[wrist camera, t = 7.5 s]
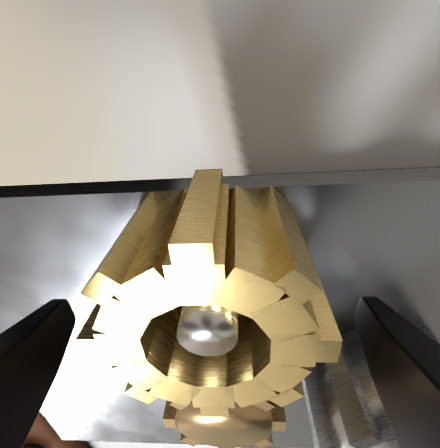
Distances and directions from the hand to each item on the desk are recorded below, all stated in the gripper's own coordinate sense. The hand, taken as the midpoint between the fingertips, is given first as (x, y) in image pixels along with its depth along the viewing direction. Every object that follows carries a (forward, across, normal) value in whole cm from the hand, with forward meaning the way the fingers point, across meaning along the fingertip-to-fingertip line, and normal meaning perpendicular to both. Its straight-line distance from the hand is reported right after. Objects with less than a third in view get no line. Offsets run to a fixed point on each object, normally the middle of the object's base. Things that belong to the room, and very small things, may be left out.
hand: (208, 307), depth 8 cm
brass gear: (+3, 0, 0) cm, 3 cm away
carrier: (+4, +1, +7) cm, 9 cm away
